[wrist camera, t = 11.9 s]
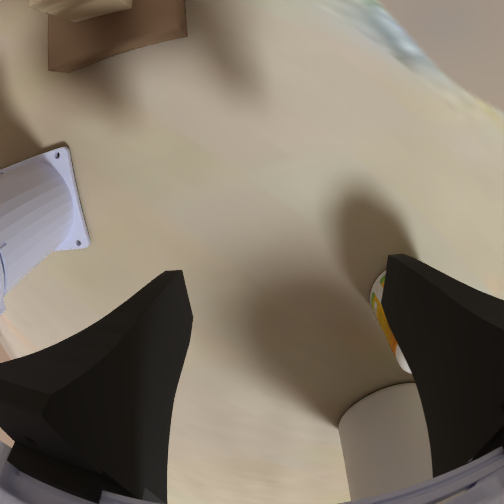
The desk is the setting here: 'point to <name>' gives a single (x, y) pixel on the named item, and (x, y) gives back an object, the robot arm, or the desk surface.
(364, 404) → the cylinder vase
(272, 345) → the desk surface
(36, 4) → the maple block
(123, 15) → the walnut block
